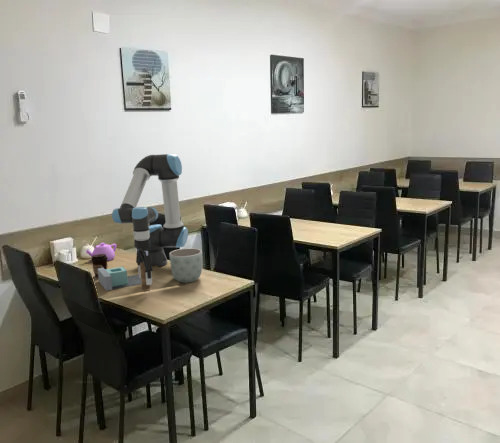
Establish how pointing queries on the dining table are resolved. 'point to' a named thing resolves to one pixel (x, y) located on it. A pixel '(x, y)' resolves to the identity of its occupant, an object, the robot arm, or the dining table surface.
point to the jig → (107, 283)
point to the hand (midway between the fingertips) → (145, 281)
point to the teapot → (103, 250)
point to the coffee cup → (99, 263)
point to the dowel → (143, 277)
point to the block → (118, 276)
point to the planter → (186, 264)
